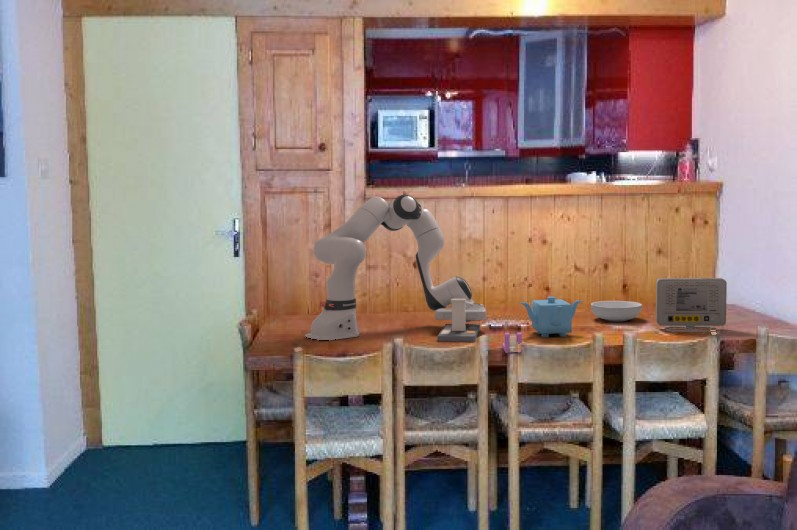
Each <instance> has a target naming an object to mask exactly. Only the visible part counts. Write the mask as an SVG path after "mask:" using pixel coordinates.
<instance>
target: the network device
mask: <svg viewBox="0 0 797 530" xmlns="http://www.w3.org/2000/svg"><path fill="white" fill-rule="evenodd" d="M727 284H728V282H727V281H726V279H725V278H722V277H668V278H667V277H663V278H662V277H660V278H659V277H658V278H657V279H656V281H655V322H656V323H657V324H658V326H660V327H661V326H662V327H664V331H666V332H671V333H672V332H673V333H674V332H677V333H678V332H680V333H682V332H683V333H687V332H689V333H690V332H691V333H700V332H701V333H708V332H707V331H710V330H717V331H718V329H717V328H716V327H723V326H725V325H726V323H727V294H728V293H727V287H728V286H727Z"/></svg>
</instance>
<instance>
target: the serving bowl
mask: <svg viewBox="0 0 797 530" xmlns="http://www.w3.org/2000/svg"><path fill="white" fill-rule="evenodd" d="M590 308H591V312H592V313H593V315H594V316H596V317H597V318H600V319H602V320H605V321H607V322H614V323H615V322H617V323H618V322H620V323H621V322H627V321H628V320H633V319H635V318H636V317H638V316H639V315H640V314H641V311H642V309H643V304H642V303H640V302H636V301H628V300H627V301H625V300H624V301H623V300H604V301H603V300H602V301H594V302H591V303H590Z"/></svg>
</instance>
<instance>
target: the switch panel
mask: <svg viewBox="0 0 797 530" xmlns="http://www.w3.org/2000/svg"><path fill="white" fill-rule="evenodd" d="M465 324H466V330H465V331H452V323H445V324H444V326H443V328H442V329H441V330H440V331H439V333H438V335H437V342H458V343H459V342H460V343H461V342H464V343H465V342H471V343H472V342H474V343H475V342H476V339H477V337H478V335H479V333H480V331H481V323H465Z"/></svg>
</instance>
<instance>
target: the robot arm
mask: <svg viewBox="0 0 797 530" xmlns="http://www.w3.org/2000/svg"><path fill="white" fill-rule="evenodd" d="M380 226H383V227H384V228H385V229H386V230H388V231H391V232H395V231H399V230H401V229H403V228H404V227H405V226H406V227H408V228H409V229H410V230H411V231H412V233H413V236H414V238H415V240H416V243H417V252H416V254H415V261H416V265H417V266H416V267H417V270H418V274H419V277H420V281H421V284H422V285H421V286H422V288H423V293H424V298H425V299H424V300H425V302H426V305H427V307H428V308H429V309H430V310H431V311H434V318H435V320H437V321H438V320H439V321H440V320H441V321H452V307H451V308H448V307H449V306H452V303H451V299H466V303H465V324H467V323H470V322H477V321H478V322H479V321H486V320H487V309H486V307H484V304H482V303H475V301H474V300H473V299H472V297H473V292H472V289H471V287H470V285H469V284H468V282H467V281H466V280H465V279H464V278H463V277H460V276H457V275H455V276H454V277H452V278H450V279H447V280H446V281H444V282H442V283H440V284H438V285H435V286H434V284H433V280H432V274H431V271H430V265H431V262H432V261H433V260H434V259H435V258H436V256H437V255H438V254H439V253H440V252H441V250H442V249H443V247H444V244H445V237H444V234H443V231H442V229H441V228H440V226H439V223H438V222H437V219H436V218H435V216H434V215H433V214H432V212H431V211H430V210H429V209H427V208H422V205H421V204H420V203H419V201H418V200H417V199H416V198H415V197H414V196H412V195H411V194H408V193H403V194H400V195H398V196H397V197H396V198H395V199H394V200H392V201H391V202H387V200H385V199H384V198H382V197H380V196H372V197H370V198H369V199H368V200H367V201H366V202H364V203H362V205H361V206H360V207H359V208H357V210H356V211H355V212H354V213H353V214H352V215H351V216H350V218H349V219H348V220H347V221H345V222H344V223H343V224H342V225H341V226H339V227H338V228H336V229H335V230H333V231H332V232H330V233H328V234H327V235H325V236H324V237H320V238H319V239H317V240H316V242H315V243H314V245H313V254H314V256H315V258H316V259H317V261H320V262H322V263H325V264H327V265H328V264H329V265H330V264H331V265H333V271H332V272H331V274H330V276H329V277H327V280H326V298H327V299H326V301H322V300H321V301H319V307H323V310H322V311H321V312H320V313H319V314H318V315H317V316H316V318H314V319H313V320H312V322H311V326H310V333H306V334H305V335H304V337H305V336H306V337H308V338H311V339H310V340H312V339H317V340H316V341H319V340H329V341H335V339H336V340H343V339H349V338H355V337H359V336H360V334H361V331H360V328H359V323H358V319H357V312H356V309H357V298H356V296H355V295H356V291H355V289H356V287H355V285H356V284H355V282H356V275H357V273H358V272H357V271H358V269H359V266H360V265H361V264H362V263H363V262H364V260H365V259H366V256H367V248H366V245H365V244H364V243H365V242H366V241H368V240H369V239H370V237H371V236H372V235H373V234H374V233H375V232H376V230H378V228H379V227H380ZM306 337H305V338H306ZM308 338H307V339H308Z"/></svg>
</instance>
